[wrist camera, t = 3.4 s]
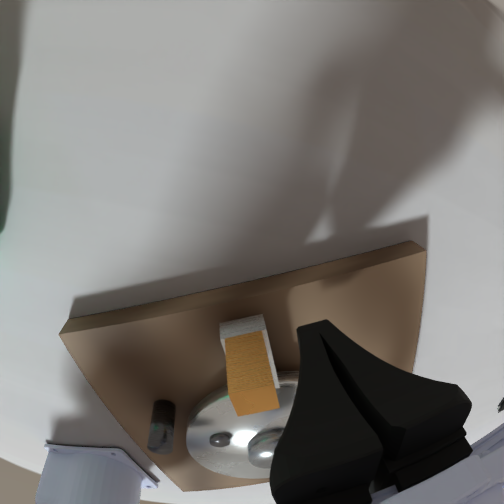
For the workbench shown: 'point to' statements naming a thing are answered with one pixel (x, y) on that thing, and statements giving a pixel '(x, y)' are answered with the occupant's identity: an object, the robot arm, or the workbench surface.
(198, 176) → the workbench surface
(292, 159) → the workbench surface
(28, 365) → the workbench surface
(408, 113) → the workbench surface
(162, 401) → the dowel pin
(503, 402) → the computer memory module
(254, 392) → the flange plate
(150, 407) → the fixture board
